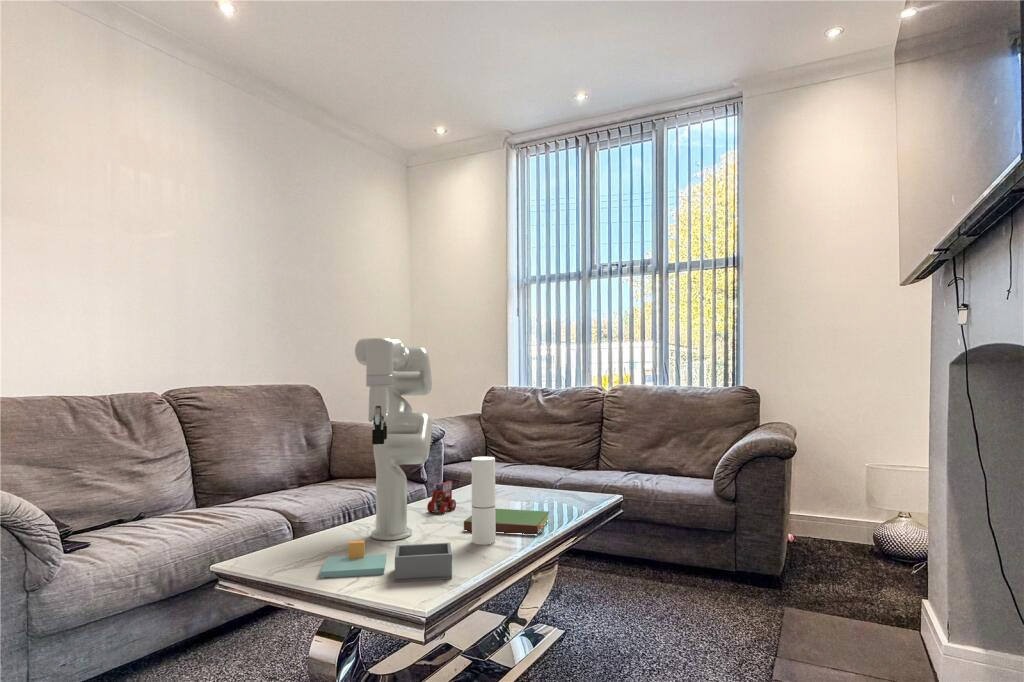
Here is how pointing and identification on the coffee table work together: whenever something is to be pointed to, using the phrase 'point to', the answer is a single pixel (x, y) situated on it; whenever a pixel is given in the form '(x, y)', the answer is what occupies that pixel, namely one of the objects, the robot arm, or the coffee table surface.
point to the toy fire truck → (442, 498)
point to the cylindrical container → (483, 500)
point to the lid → (354, 563)
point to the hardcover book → (515, 521)
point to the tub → (423, 562)
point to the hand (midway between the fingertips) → (379, 441)
